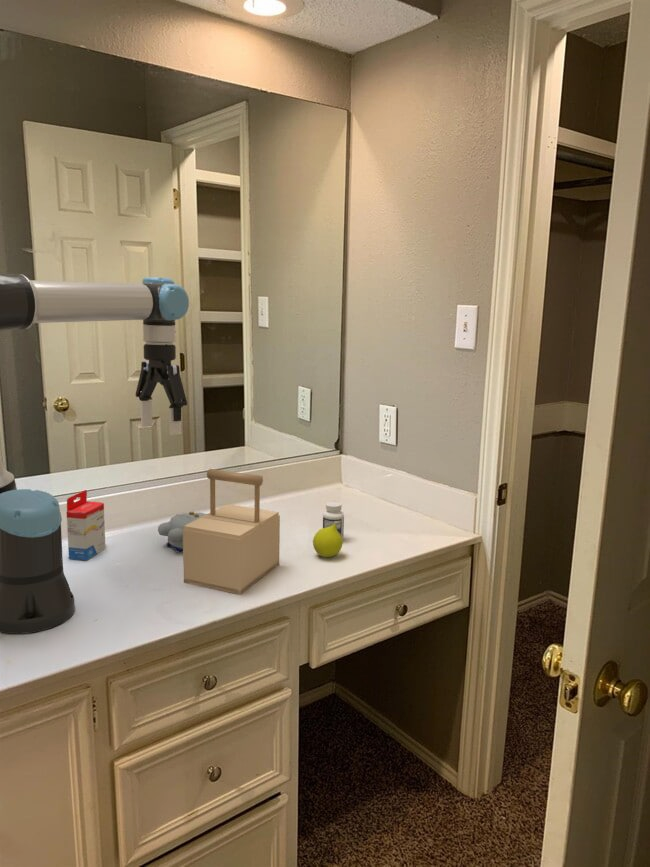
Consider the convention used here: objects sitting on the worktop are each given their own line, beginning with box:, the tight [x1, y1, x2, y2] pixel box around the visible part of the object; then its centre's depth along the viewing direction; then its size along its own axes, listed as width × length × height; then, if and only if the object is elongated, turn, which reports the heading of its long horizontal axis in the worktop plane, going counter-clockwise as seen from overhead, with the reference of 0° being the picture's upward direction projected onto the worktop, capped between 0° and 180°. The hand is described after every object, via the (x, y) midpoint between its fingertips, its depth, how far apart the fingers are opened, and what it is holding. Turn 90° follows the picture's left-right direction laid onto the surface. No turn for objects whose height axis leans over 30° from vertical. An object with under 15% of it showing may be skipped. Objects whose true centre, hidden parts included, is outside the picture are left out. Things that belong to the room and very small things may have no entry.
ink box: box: [66, 489, 106, 561], centre depth 155 cm, size 8×5×15 cm, turn 168°
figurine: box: [157, 511, 208, 553], centre depth 164 cm, size 17×8×20 cm
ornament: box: [312, 521, 343, 558], centre depth 158 cm, size 7×7×10 cm
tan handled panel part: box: [206, 468, 279, 526], centre depth 147 cm, size 9×14×11 cm
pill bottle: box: [322, 501, 345, 542], centre depth 169 cm, size 5×5×10 cm
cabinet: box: [182, 515, 281, 595], centre depth 146 cm, size 18×14×13 cm
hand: (160, 430), depth 161 cm, fingers open, 13 cm apart
